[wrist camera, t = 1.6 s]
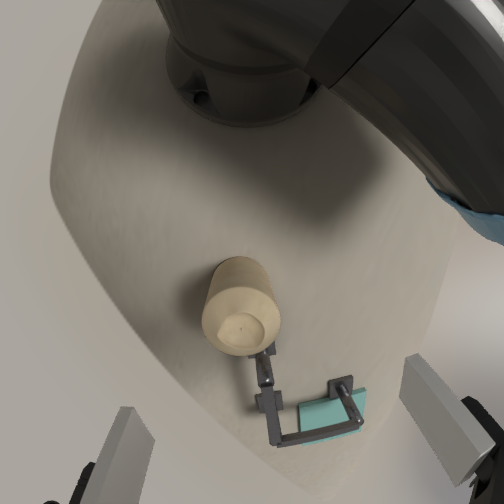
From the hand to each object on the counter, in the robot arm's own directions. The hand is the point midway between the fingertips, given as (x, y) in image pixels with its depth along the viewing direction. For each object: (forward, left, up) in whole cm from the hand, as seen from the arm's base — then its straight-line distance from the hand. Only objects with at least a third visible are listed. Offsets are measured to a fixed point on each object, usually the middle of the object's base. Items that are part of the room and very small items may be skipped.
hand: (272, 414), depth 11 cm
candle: (-1, -1, -17) cm, 17 cm away
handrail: (+11, +4, -17) cm, 20 cm away
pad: (+21, +8, -17) cm, 28 cm away
